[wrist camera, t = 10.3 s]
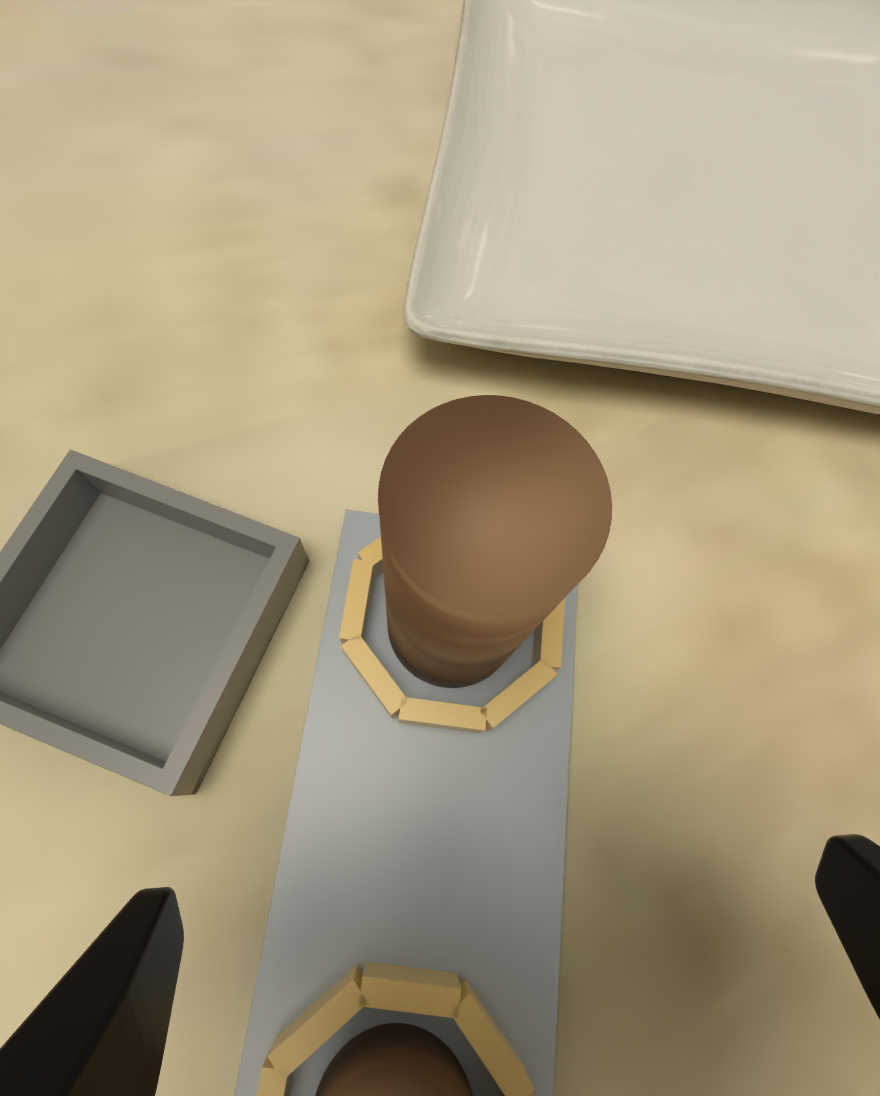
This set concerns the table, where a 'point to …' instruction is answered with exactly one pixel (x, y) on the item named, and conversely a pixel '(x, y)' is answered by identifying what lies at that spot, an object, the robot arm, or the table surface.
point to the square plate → (663, 192)
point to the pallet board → (418, 853)
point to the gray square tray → (136, 621)
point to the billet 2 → (484, 532)
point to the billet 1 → (394, 1065)
